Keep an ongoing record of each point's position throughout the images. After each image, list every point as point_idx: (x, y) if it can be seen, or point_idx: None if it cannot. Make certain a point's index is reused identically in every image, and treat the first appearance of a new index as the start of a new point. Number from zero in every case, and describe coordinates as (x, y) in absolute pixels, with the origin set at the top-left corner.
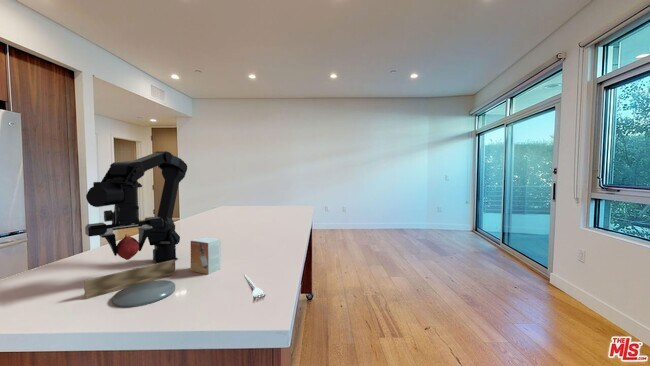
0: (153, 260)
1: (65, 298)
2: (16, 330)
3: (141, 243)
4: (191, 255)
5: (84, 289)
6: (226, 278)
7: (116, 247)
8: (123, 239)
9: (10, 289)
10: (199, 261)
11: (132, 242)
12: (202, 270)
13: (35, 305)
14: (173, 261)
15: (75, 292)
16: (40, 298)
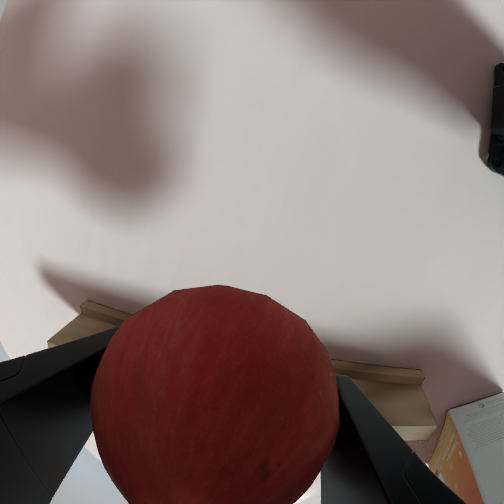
0: (495, 74)
1: (48, 256)
2: (8, 352)
3: (329, 485)
4: (467, 467)
5: (70, 323)
6: None
7: (92, 431)
8: (125, 497)
9: (9, 8)
10: (448, 476)
11: None
12: (436, 457)
13: (5, 234)
14: (419, 437)
15: (71, 221)
16: (11, 177)
